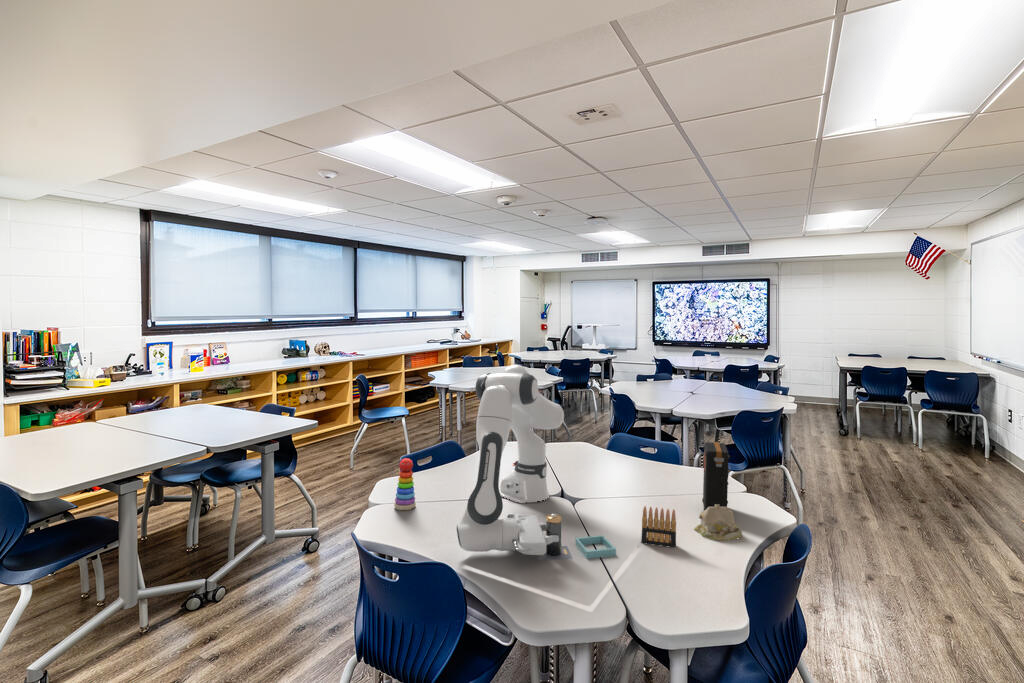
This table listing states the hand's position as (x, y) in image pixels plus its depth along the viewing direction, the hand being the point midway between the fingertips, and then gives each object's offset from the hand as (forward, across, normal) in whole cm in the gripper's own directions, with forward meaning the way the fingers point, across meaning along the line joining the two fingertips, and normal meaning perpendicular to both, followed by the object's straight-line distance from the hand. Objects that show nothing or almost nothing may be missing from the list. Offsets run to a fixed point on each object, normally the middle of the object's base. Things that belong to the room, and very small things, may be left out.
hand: (556, 532), depth 147 cm
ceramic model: (+57, +11, +7) cm, 59 cm away
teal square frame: (+12, +1, +7) cm, 14 cm away
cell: (-1, 0, +6) cm, 6 cm away
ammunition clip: (+34, +5, +7) cm, 35 cm away
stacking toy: (-50, +42, +7) cm, 66 cm away
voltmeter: (+66, +28, +7) cm, 72 cm away
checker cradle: (-1, 0, +7) cm, 7 cm away
